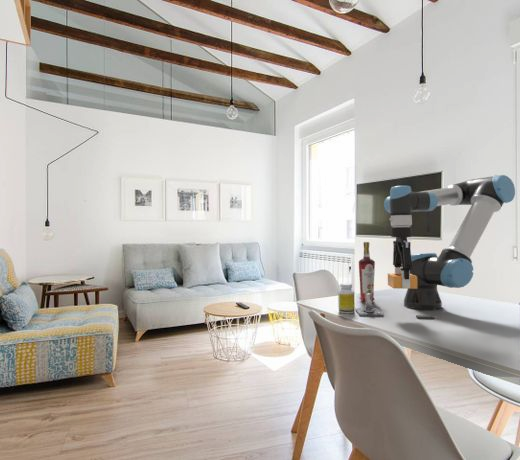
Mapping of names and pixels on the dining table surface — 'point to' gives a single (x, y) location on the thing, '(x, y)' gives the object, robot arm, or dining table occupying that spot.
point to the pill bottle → (346, 298)
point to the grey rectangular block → (425, 317)
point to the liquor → (366, 274)
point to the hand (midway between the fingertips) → (402, 285)
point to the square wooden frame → (396, 281)
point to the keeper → (369, 308)
